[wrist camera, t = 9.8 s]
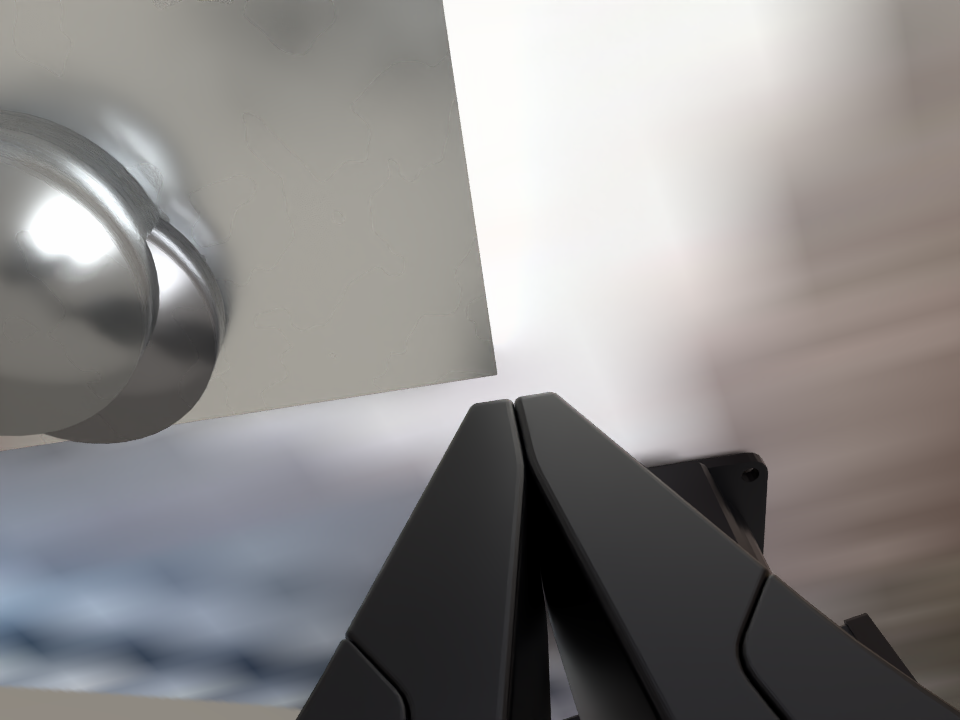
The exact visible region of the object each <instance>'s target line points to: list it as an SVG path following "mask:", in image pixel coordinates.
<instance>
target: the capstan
mask: <svg viewBox="0 0 960 720" xmlns="http://www.w3.org/2000/svg"><path fill="white" fill-rule="evenodd" d="M224 335H225V310H224V303H223V299H222V295H221V291H220V289H219V286H218V284H217V281H216V279H215V276H214V275H213V273H212V271H211V269H210V267H209V266H208V264H207V262H206V261H205V259H204V258H203V257H202V255H201V254H200V253H199V251H198V250H197V249H196V248H195V246H194V245H193V244H192V243H191V242H190V241H189V240H188V239H187V238H186V237H185V236H184V235H183V234H182V233H181V232H179V231H178V230H177V229H176V228H175V227H174V226H172V225H171V224H170V223H169V222H167V221H166V220H164V219H163V218H161V217H160V214H159V212H158V211H157V209H156V207H155V206H154V204H153V202H152V200H151V199H150V197H149V196H148V194H147V193H146V192H145V190H144V189H143V188H142V186H141V185H140V184H139V182H138V181H137V180H136V179H135V178H134V177H133V175H132V174H131V173H130V172H129V171H128V170H127V169H126V168H125V167H124V166H123V165H122V164H121V163H120V162H118V161H117V160H116V159H115V158H114V157H113V156H111V155H110V154H109V153H108V152H107V151H105V150H104V149H102V148H101V147H100V146H98V145H97V144H95V143H94V142H92V141H91V140H89V139H88V138H86V137H84V136H82V135H80V134H78V133H77V132H75V131H73V130H71V129H69V128H67V127H64V126H62V125H60V124H57V123H55V122H52V121H50V120H47V119H44V118H40V117H37V116H33V115H30V114H26V113H20V112H14V111H8V110H0V436H26V435H36V434H46V435H49V436H52V437H56V438H60V439H64V440H69V441H74V442H83V443H106V444H108V443H119V442H127V441H131V440H136V439H141V438H144V437H147V436H150V435H153V434H155V433H157V432H160V431H162V430H164V429H166V428H168V427H169V426H171V425H172V424H174V423H176V422H177V421H179V420H180V419H181V418H182V417H183V416H185V415H186V414H187V413H188V412H189V411H190V410H191V409H192V408H193V407H194V406H195V404H196V403H197V402H198V401H199V400H200V398H201V396H202V395H203V393H204V391H205V389H206V388H207V385H208V383H209V380H210V378H211V375H212V372H213V370H214V367H215V364H216V362H217V359H218V356H219V353H220V351H221V348H222V344H223V339H224Z"/></svg>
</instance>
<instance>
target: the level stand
mask: <svg viewBox="0 0 960 720" xmlns="http://www.w3.org/2000/svg"><path fill="white" fill-rule="evenodd" d="M0 110H8V111H14V112H20V113H26V114H30V115H33V116H37V117H40V118H44V119H47V120H50V121H52V122H55V123H57V124H60V125H62V126H64V127H67V128H69V129H71V130H73V131H75V132H77V133H78V134H80V135H82V136H84V137H86V138H88V139H89V140H91V141H92V142H94V143H95V144H97V145H98V146H100V147H101V148H102V149H104V150H105V151H107V152H108V153H109V154H110V155H111V156H113V157H114V158H115V159H116V160H117V161H118V162H120V163H121V164H122V165H123V166H124V167H125V168H126V169H127V170H128V171H129V172H130V173H131V174H132V175H133V177H134V178H135V179H136V180H137V181H138V182H139V184H140V185H141V186H142V188H143V189H144V190H145V192H146V193H147V194H148V196H149V197H150V199H151V200H152V202H153V204H154V206H155V207H156V209H157V211H158V212H159V214H160V217H161V218H163V219H164V220H166V221H167V222H169V223H170V224H171V225H172V226H174V227H175V228H176V229H177V230H178V231H179V232H181V233H182V234H183V235H184V236H185V237H186V238H187V239H188V240H189V241H190V242H191V243H192V244H193V245H194V246H195V248H196V249H197V250H198V251H199V253H200V254H201V255H202V257H203V258H204V259H205V261H206V262H207V264H208V266H209V267H210V269H211V271H212V273H213V275H214V276H215V279H216V281H217V284H218V286H219V289H220V291H221V295H222V299H223V303H224V310H225V335H224V339H223V344H222V348H221V351H220V353H219V356H218V359H217V362H216V364H215V367H214V370H213V372H212V375H211V378H210V380H209V383H208V385H207V388H206V389H205V391H204V393H203V395H202V396H201V398H200V400H199V401H198V402H197V403H196V404H195V406H194V407H193V408H192V409H191V410H190V411H189V412H188V413H187V414H186V415H185V416H183V417H182V418H181V419H180V420H179V421H177V422H176V423H174V424H180V423H187V422H193V421H200V420H206V419H213V418H219V417H226V416H232V415H239V414H245V413H252V412H258V411H265V410H271V409H278V408H284V407H291V406H298V405H304V404H311V403H317V402H324V401H330V400H337V399H343V398H350V397H356V396H363V395H369V394H376V393H382V392H389V391H395V390H402V389H408V388H415V387H421V386H428V385H434V384H441V383H447V382H454V381H460V380H467V379H473V378H480V377H486V376H493V375H497V369H496V362H495V355H494V349H493V342H492V335H491V328H490V321H489V315H488V308H487V301H486V294H485V287H484V281H483V274H482V267H481V260H480V253H479V246H478V240H477V233H476V226H475V219H474V212H473V206H472V199H471V192H470V185H469V178H468V172H467V165H466V158H465V151H464V144H463V138H462V131H461V124H460V117H459V110H458V103H457V97H456V90H455V83H454V76H453V69H452V63H451V56H450V49H449V42H448V35H447V29H446V22H445V15H444V8H443V1H442V0H0ZM174 424H172V425H174ZM63 441H69V440H64V439H60V438H56V437H52V436H49V435H46V434H36V435H26V436H0V451H5V450H11V449H18V448H24V447H31V446H37V445H44V444H50V443H57V442H63Z"/></svg>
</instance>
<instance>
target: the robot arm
mask: <svg viewBox="0 0 960 720" xmlns="http://www.w3.org/2000/svg"><path fill="white" fill-rule="evenodd" d="M514 407H515V408H514ZM750 468H753V469H752V470H751V471H750V472H748V473H743V472H744V471H745V470H747V469H750ZM767 480H768V470H767V467H766V465H765V463H764V462H763V460H762V458H761V457H760V456H759V455H757V454H755V453H742V454H735V455H729V456H722V457H715V458H709V459H702V460H696V461H689V462H683V463H676V464H670V465H663V466H657V467H650V468H646V467H644V466H643V465H642V464H641V463H639V462H638V461H637V460H636V459H635V458H633V457H632V456H631V455H630V454H629V453H627V452H626V451H625V450H624V449H623V448H621V447H620V446H619V445H618V444H617V443H615V442H614V441H613V440H612V439H611V438H609V437H608V436H607V435H606V434H605V433H603V432H602V431H601V430H600V429H599V428H597V427H596V426H595V425H594V424H592V423H591V422H590V421H589V420H588V419H586V418H585V417H584V416H583V415H582V414H580V413H579V412H578V411H577V410H576V409H574V408H573V407H572V406H571V405H570V404H568V403H567V402H566V401H565V400H564V399H562V398H561V397H560V396H559V395H557V394H556V393H553V392H547V393H541V394H534V395H528V396H522V397H518V398H517V399H516V400H515V403H514V404H513V402H512V401H511V400H508V399H502V400H496V401H489V402H482V403H476V404H474V405H472V406H471V407H470V409H469V411H468V413H467V414H466V416H465V418H464V420H463V422H462V423H461V425H460V427H459V429H458V431H457V432H456V434H455V436H454V438H453V440H452V442H451V443H450V445H449V447H448V449H447V451H446V452H445V454H444V456H443V458H442V460H441V461H440V463H439V465H438V467H437V469H436V471H435V472H434V474H433V476H432V478H431V480H430V481H429V483H428V485H427V487H426V489H425V491H424V492H423V494H422V496H421V498H420V500H419V501H418V503H417V505H416V507H415V509H414V510H413V512H412V514H411V516H410V518H409V520H408V521H407V523H406V525H405V527H404V529H403V530H402V532H401V534H400V536H399V538H398V539H397V541H396V543H395V545H394V547H393V549H392V550H391V552H390V554H389V556H388V558H387V559H386V561H385V563H384V565H383V567H382V569H381V570H380V572H379V574H378V576H377V578H376V579H375V581H374V583H373V585H372V587H371V588H370V590H369V592H368V594H367V596H366V598H365V599H364V601H363V603H362V605H361V607H360V608H359V610H358V612H357V614H356V616H355V617H354V619H353V621H352V623H351V625H350V627H349V628H348V630H347V632H346V635H345V636H346V639H344V640H342V641H341V642H340V644H339V645H338V647H337V649H336V651H335V653H334V655H333V657H332V658H331V660H330V662H329V664H328V666H327V668H326V669H325V671H324V673H323V675H322V677H321V678H320V680H319V682H318V683H317V685H316V687H315V688H314V690H313V692H312V693H311V695H310V697H309V698H308V700H307V702H306V704H305V705H304V707H303V709H302V710H301V712H300V714H299V715H298V717H297V719H296V720H551V707H550V680H549V654H548V632H547V618H546V609H545V601H546V605H547V610H548V615H549V618H550V622H551V626H552V629H553V633H554V637H555V640H556V643H557V646H558V650H559V653H560V656H561V659H562V662H563V666H564V669H565V672H566V675H567V679H568V682H569V685H570V688H571V691H572V695H573V698H574V701H575V704H576V708H577V711H578V715H575V716H572V717H569V718H566V719H563V720H960V711H959V710H957V709H956V708H954V707H953V706H951V705H950V704H948V703H947V702H945V701H944V700H942V699H941V698H939V697H938V696H936V695H935V694H933V693H932V692H930V691H929V690H927V689H926V688H924V687H923V686H921V685H920V684H919V683H918V682H917V681H916V680H915V678H914V677H913V676H912V674H911V673H910V671H909V670H908V669H907V667H906V666H905V665H904V663H903V662H902V661H901V659H900V658H899V657H898V655H897V654H896V652H895V651H894V650H893V648H892V647H891V646H890V644H889V643H888V642H887V640H886V639H885V637H884V636H883V635H882V633H881V632H880V631H879V629H878V628H877V627H876V625H875V624H874V622H873V621H872V620H871V618H870V617H869V616H868V614H867V613H864V614H861V615H858V616H855V617H852V618H850V619H847V620H844V623H845V625H842V626H838V625H837V624H836V623H834V622H833V621H832V620H831V619H829V618H828V617H827V616H826V615H824V614H823V613H822V612H820V611H819V610H818V609H817V608H815V607H814V606H813V605H811V604H810V603H809V602H808V601H806V600H805V599H804V598H803V597H802V596H800V595H799V594H798V593H797V592H796V591H794V590H793V589H792V588H791V587H789V586H788V585H787V584H786V583H785V582H783V581H782V580H781V579H780V578H779V577H777V576H776V575H773V574H772V572H771V570H770V568H769V566H768V564H767V562H766V560H765V558H764V556H763V547H764V531H765V514H766V497H767ZM542 585H543V586H542ZM543 591H544V594H543ZM544 596H545V601H544Z"/></svg>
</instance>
